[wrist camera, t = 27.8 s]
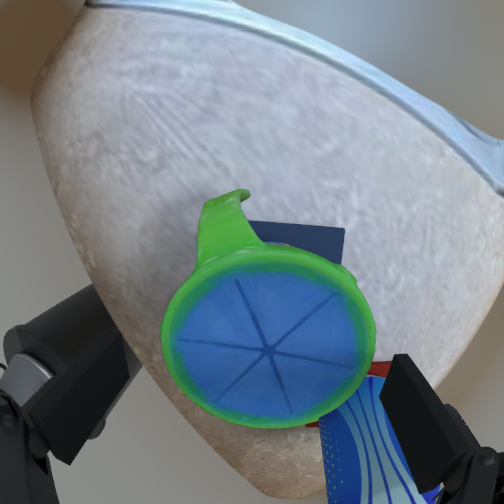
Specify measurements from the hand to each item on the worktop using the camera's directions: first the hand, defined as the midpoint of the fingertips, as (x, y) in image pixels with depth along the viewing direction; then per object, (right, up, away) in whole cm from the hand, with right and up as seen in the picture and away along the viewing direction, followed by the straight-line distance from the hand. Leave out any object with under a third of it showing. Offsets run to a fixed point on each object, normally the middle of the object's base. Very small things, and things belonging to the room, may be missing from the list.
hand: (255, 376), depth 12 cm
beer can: (+10, -10, +12) cm, 19 cm away
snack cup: (+1, +3, +10) cm, 11 cm away
